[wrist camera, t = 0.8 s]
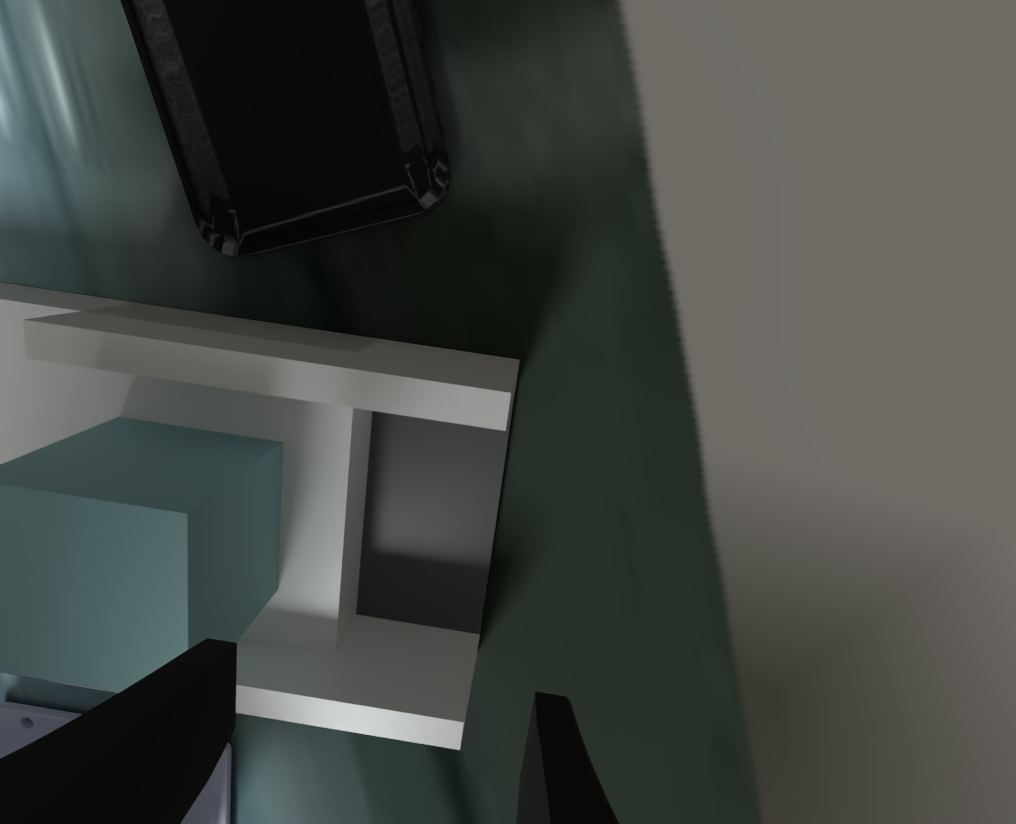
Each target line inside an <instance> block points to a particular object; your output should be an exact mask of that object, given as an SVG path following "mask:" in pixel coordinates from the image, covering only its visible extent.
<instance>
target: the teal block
mask: <svg viewBox="0 0 1016 824" xmlns="http://www.w3.org/2000/svg"><path fill="white" fill-rule="evenodd" d="M282 464H283V442H280V441H273V440H267V439H260V438H254V437H247V436H241V435H234V434H228V433H221V432H215V431H208V430H202V429H195V428H189V427H182V426H176V425H169V424H163V423H156V422H150V421H143V420H137V419H130V418H124V417H117V418H114V419H112V420H109V421H107V422H104V423H102V424H99V425H97V426H94V427H92V428H89V429H87V430H84V431H82V432H80V433H77V434H75V435H72V436H70V437H67V438H65V439H62V440H60V441H57V442H55V443H52V444H50V445H47V446H45V447H42V448H40V449H37V450H35V451H32V452H30V453H28V454H25V455H23V456H20V457H18V458H15V459H13V460H10V461H8V462H5V463H3V464H0V673H6V674H12V675H18V676H24V677H30V678H37V679H43V680H49V681H55V682H61V683H67V684H73V685H79V686H85V687H91V688H97V689H103V690H109V691H115V692H121V691H123V690H125V689H126V688H128V687H129V686H131V685H133V684H134V683H136V682H138V681H139V680H141V679H142V678H144V677H146V676H147V675H149V674H150V673H152V672H154V671H155V670H157V669H158V668H160V667H162V666H163V665H165V664H166V663H168V662H169V661H171V660H173V659H174V658H176V657H177V656H179V655H180V654H182V653H184V652H185V651H187V650H188V649H190V648H192V647H193V646H195V645H196V644H198V643H200V642H202V641H203V640H205V639H207V638H210V639H216V640H222V641H228V642H235V643H236V642H237V641H238V640H239V639H240V637H241V636H242V635H243V633H244V632H245V631H246V630H247V628H248V627H249V626H250V625H251V623H252V622H253V621H254V619H255V618H256V617H257V616H258V614H259V613H260V612H261V611H262V609H263V608H264V607H265V605H266V604H267V603H268V602H269V600H270V599H271V598H272V597H273V595H274V594H275V593H276V591H277V588H278V563H279V538H280V514H281V489H282Z"/></svg>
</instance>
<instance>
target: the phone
mask: <svg viewBox="0 0 1016 824" xmlns="http://www.w3.org/2000/svg"><path fill="white" fill-rule="evenodd" d="M121 3H122V6H123V9H124V12H125V15H126V18H127V21H128V23H129V26H130V29H131V32H132V35H133V38H134V41H135V44H136V47H137V50H138V53H139V56H140V59H141V62H142V65H143V68H144V71H145V74H146V77H147V80H148V83H149V86H150V89H151V92H152V95H153V98H154V101H155V104H156V107H157V110H158V113H159V116H160V119H161V122H162V125H163V128H164V131H165V134H166V137H167V140H168V143H169V146H170V149H171V151H172V154H173V157H174V160H175V163H176V166H177V169H178V172H179V175H180V178H181V181H182V184H183V187H184V190H185V193H186V196H187V199H188V202H189V205H190V208H191V211H192V214H193V217H194V220H195V223H196V226H197V228H198V230H199V232H200V234H201V236H202V237H203V238H204V239H205V241H206V242H207V243H208V244H209V245H210V246H211V247H212V248H214V249H216V250H217V251H219V252H220V253H223V254H227V255H231V256H246V255H257V254H261V253H266V252H270V251H274V250H278V249H282V248H286V247H290V246H294V245H298V244H302V243H307V242H311V241H315V240H319V239H323V238H327V237H331V236H335V235H339V234H343V233H348V232H352V231H356V230H360V229H364V228H368V227H372V226H376V225H380V224H384V223H389V222H393V221H397V220H401V219H405V218H409V217H413V216H417V215H421V214H424V213H426V212H429V211H431V210H433V209H434V208H435V207H436V206H437V205H438V204H440V203H441V202H442V200H443V198H444V197H445V195H446V193H447V191H448V188H449V183H450V179H451V176H450V165H449V160H448V156H447V152H446V147H445V143H444V139H443V135H442V133H444V130H443V126H442V121H441V117H440V113H439V111H437V109H436V104H435V100H434V96H433V92H434V91H435V89H434V84H433V80H432V76H431V71H430V67H429V63H428V58H427V55H426V53H425V54H424V53H423V49H422V44H425V43H424V38H423V34H422V30H421V25H420V21H419V17H418V12H417V9H413V5H412V1H411V0H121Z"/></svg>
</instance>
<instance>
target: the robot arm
mask: <svg viewBox="0 0 1016 824" xmlns="http://www.w3.org/2000/svg"><path fill="white" fill-rule="evenodd" d="M236 675H237V643H235V642H228V641H222V640H216V639H210V638H207V639H205V640H203V641H202V642H200V643H198V644H196V645H195V646H193V647H192V648H190V649H188V650H187V651H185V652H184V653H182V654H180V655H179V656H177V657H176V658H174V659H173V660H171V661H169V662H168V663H166V664H165V665H163V666H162V667H160V668H158V669H157V670H155V671H154V672H152V673H150V674H149V675H147V676H146V677H144V678H142V679H141V680H139V681H138V682H136V683H134V684H133V685H131V686H129V687H128V688H126V689H125V690H123V691H121V692H120V693H118V694H116V695H115V696H113V697H112V698H110V699H108V700H107V701H105V702H103V703H102V704H100V705H98V706H96V707H94V708H93V709H91V710H89V711H87V712H86V713H84V714H78V713H72V712H66V711H60V710H54V709H48V708H42V707H36V706H30V705H24V704H18V703H13V702H3V703H1V704H0V824H230V801H231V745H230V744H229V742H228V741H229V739H230V737H231V735H232V733H233V731H234V729H235V724H236ZM517 824H619V822H618V820H617V818H616V816H615V814H614V812H613V810H612V808H611V806H610V804H609V802H608V800H607V797H606V795H605V793H604V791H603V788H602V786H601V784H600V782H599V779H598V777H597V775H596V772H595V770H594V768H593V765H592V763H591V760H590V758H589V756H588V753H587V750H586V748H585V745H584V742H583V740H582V737H581V734H580V731H579V728H578V725H577V722H576V719H575V716H574V712H573V709H572V705H571V702H570V701H569V699H568V698H567V697H565V696H559V695H553V694H547V693H541V692H535V697H534V703H533V708H532V714H531V719H530V725H529V731H528V736H527V742H526V747H525V753H524V758H523V764H522V770H521V775H520V787H519V799H518V811H517Z"/></svg>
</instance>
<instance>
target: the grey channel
mask: <svg viewBox="0 0 1016 824" xmlns="http://www.w3.org/2000/svg"><path fill="white" fill-rule="evenodd" d="M519 362H520V360H519V359H512V358H505V357H498V356H492V355H485V354H478V353H472V352H465V351H458V350H451V349H445V348H438V347H431V346H424V345H418V344H411V343H404V342H398V341H391V340H384V339H377V338H371V337H364V336H357V335H350V334H344V333H337V332H330V331H324V330H317V329H310V328H303V327H297V326H290V325H283V324H276V323H270V322H263V321H256V320H250V319H243V318H236V317H229V316H223V315H216V314H209V313H203V312H196V311H189V310H182V309H176V308H169V307H162V306H155V305H149V304H142V303H135V302H129V301H122V300H115V299H108V298H102V297H95V296H88V295H81V294H75V293H68V292H61V291H55V290H48V289H41V288H34V287H28V286H21V285H14V284H7V283H1V282H0V464H3V463H5V462H8V461H10V460H13V459H15V458H18V457H20V456H23V455H25V454H28V453H30V452H32V451H35V450H37V449H40V448H42V447H45V446H47V445H50V444H52V443H55V442H57V441H60V440H62V439H65V438H67V437H70V436H72V435H75V434H77V433H80V432H82V431H84V430H87V429H89V428H92V427H94V426H97V425H99V424H102V423H104V422H107V421H109V420H112V419H114V418H117V417H124V418H130V419H137V420H143V421H150V422H156V423H163V424H169V425H176V426H182V427H189V428H195V429H202V430H208V431H215V432H221V433H228V434H234V435H241V436H247V437H254V438H260V439H267V440H273V441H280V442H283V464H282V489H281V514H280V538H279V563H278V588H277V591H276V593H275V594H274V595H273V597H272V598H271V599H270V600H269V602H268V603H267V604H266V605H265V607H264V608H263V609H262V611H261V612H260V613H259V614H258V616H257V617H256V618H255V619H254V621H253V622H252V623H251V625H250V626H249V627H248V628H247V630H246V631H245V632H244V633H243V635H242V636H241V637H240V639H239V640H238V641H237V642H236V643H237V675H236V713H241V714H247V715H253V716H259V717H265V718H271V719H277V720H283V721H289V722H295V723H301V724H307V725H313V726H319V727H325V728H331V729H337V730H343V731H349V732H355V733H361V734H367V735H373V736H379V737H385V738H391V739H397V740H403V741H409V742H415V743H421V744H427V745H433V746H439V747H445V748H451V749H457V750H460V746H461V741H462V735H463V730H464V724H465V718H466V713H467V707H468V702H469V696H470V690H471V685H472V679H473V674H474V668H475V662H476V657H477V651H478V644H479V637H480V630H481V623H482V616H483V609H484V603H485V596H486V589H487V582H488V575H489V568H490V561H491V554H492V548H493V541H494V534H495V527H496V520H497V513H498V506H499V499H500V492H501V486H502V479H503V472H504V465H505V458H506V451H507V444H508V437H509V430H510V424H511V417H512V410H513V403H514V396H515V389H516V382H517V375H518V369H519ZM51 682H54V683H60V684H66V685H72V686H78V687H84V688H90V689H96V690H102V691H108V692H114V693H120V692H115V691H109V690H103V689H97V688H91V687H85V686H79V685H73V684H67V683H61V682H55V681H51Z"/></svg>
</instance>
